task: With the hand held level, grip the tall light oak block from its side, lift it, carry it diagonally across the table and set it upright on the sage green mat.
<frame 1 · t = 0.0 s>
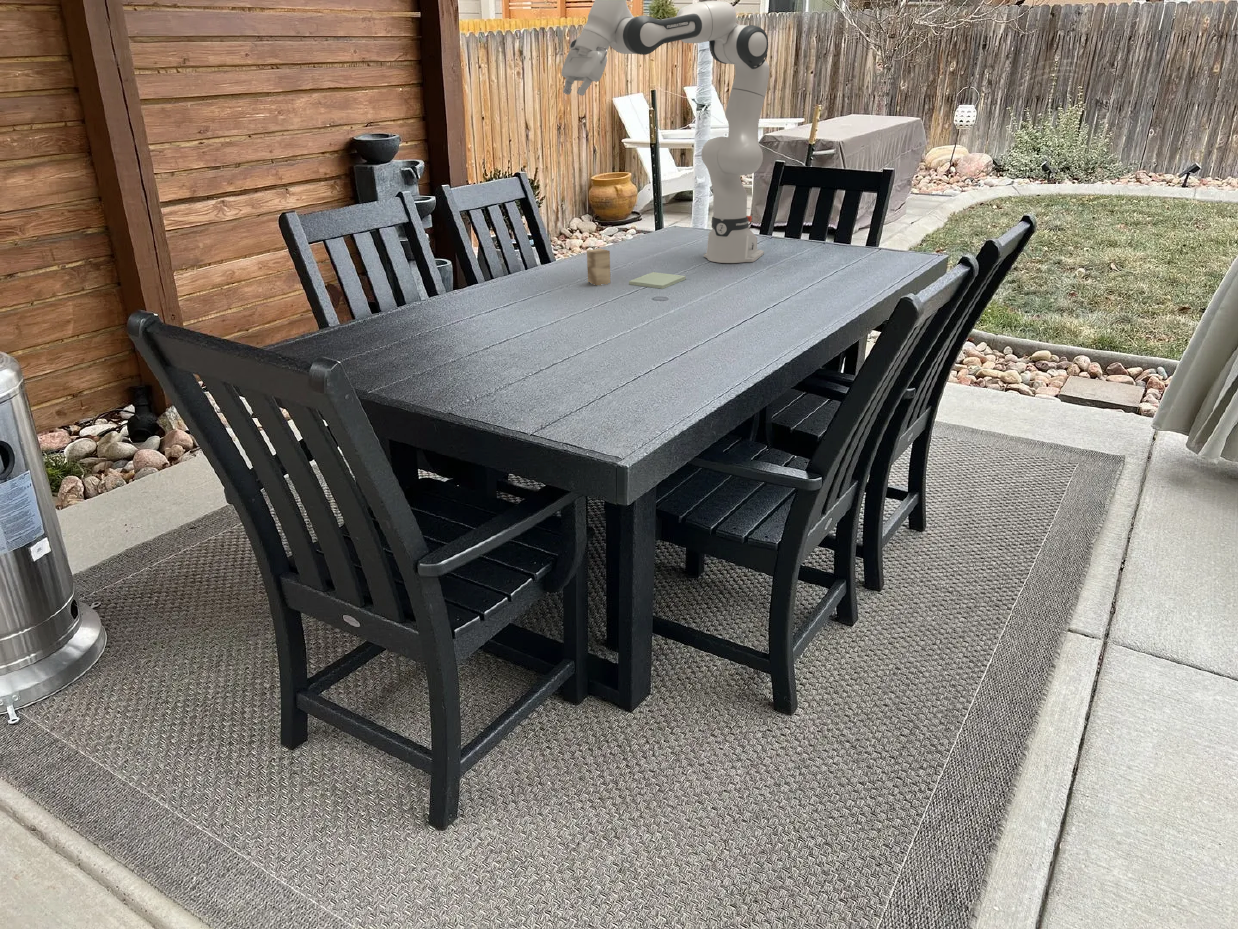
hand: (572, 93, 266), 54 cm above the table, tool tilted 30°, fingers open, 8 cm apart
oak block: (599, 283, 284), on the table
sage mat: (657, 281, 284), on the table
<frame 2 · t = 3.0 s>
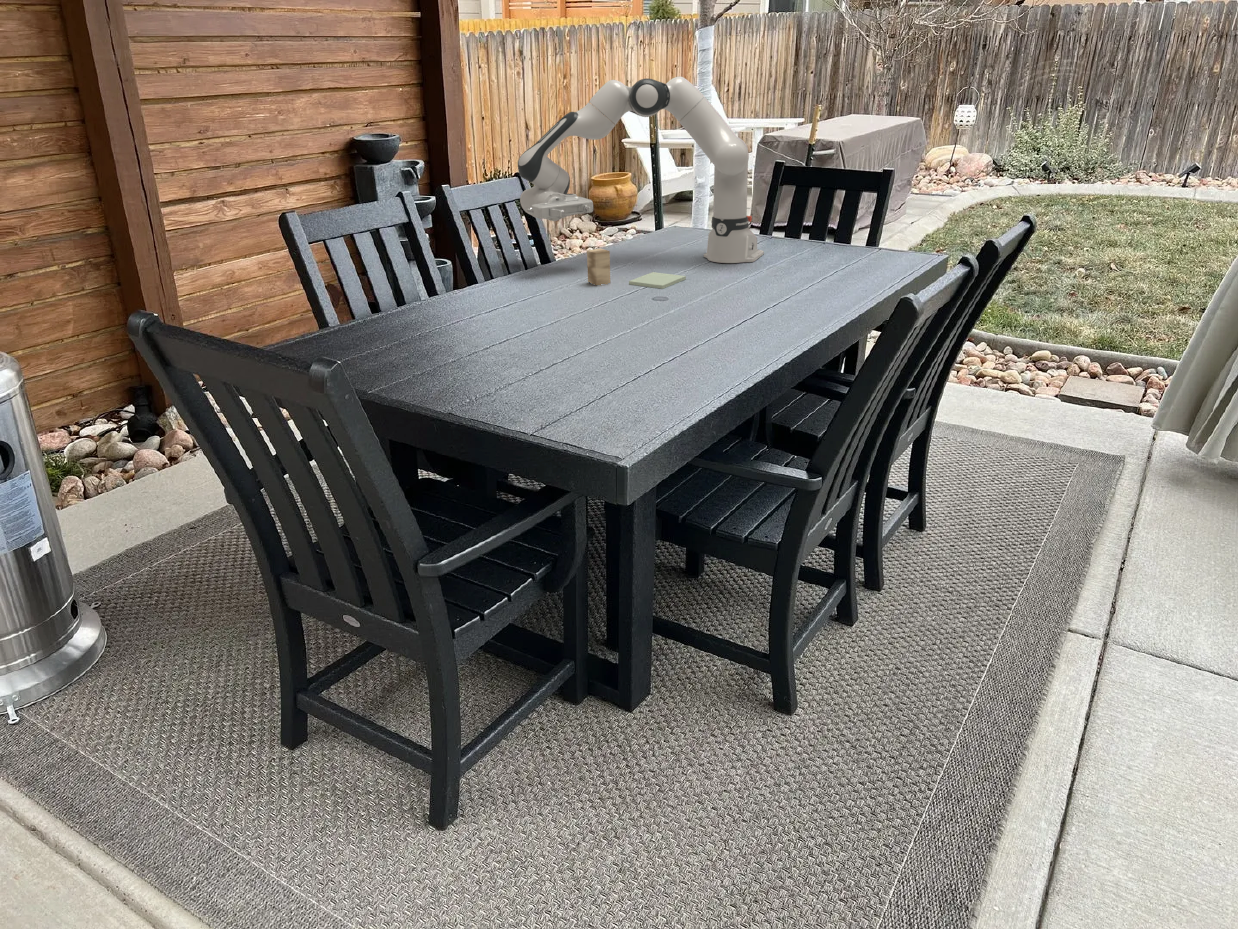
hand: (575, 211, 285), 20 cm above the table, tool horizontal, fingers open, 8 cm apart
nothing on the table moved.
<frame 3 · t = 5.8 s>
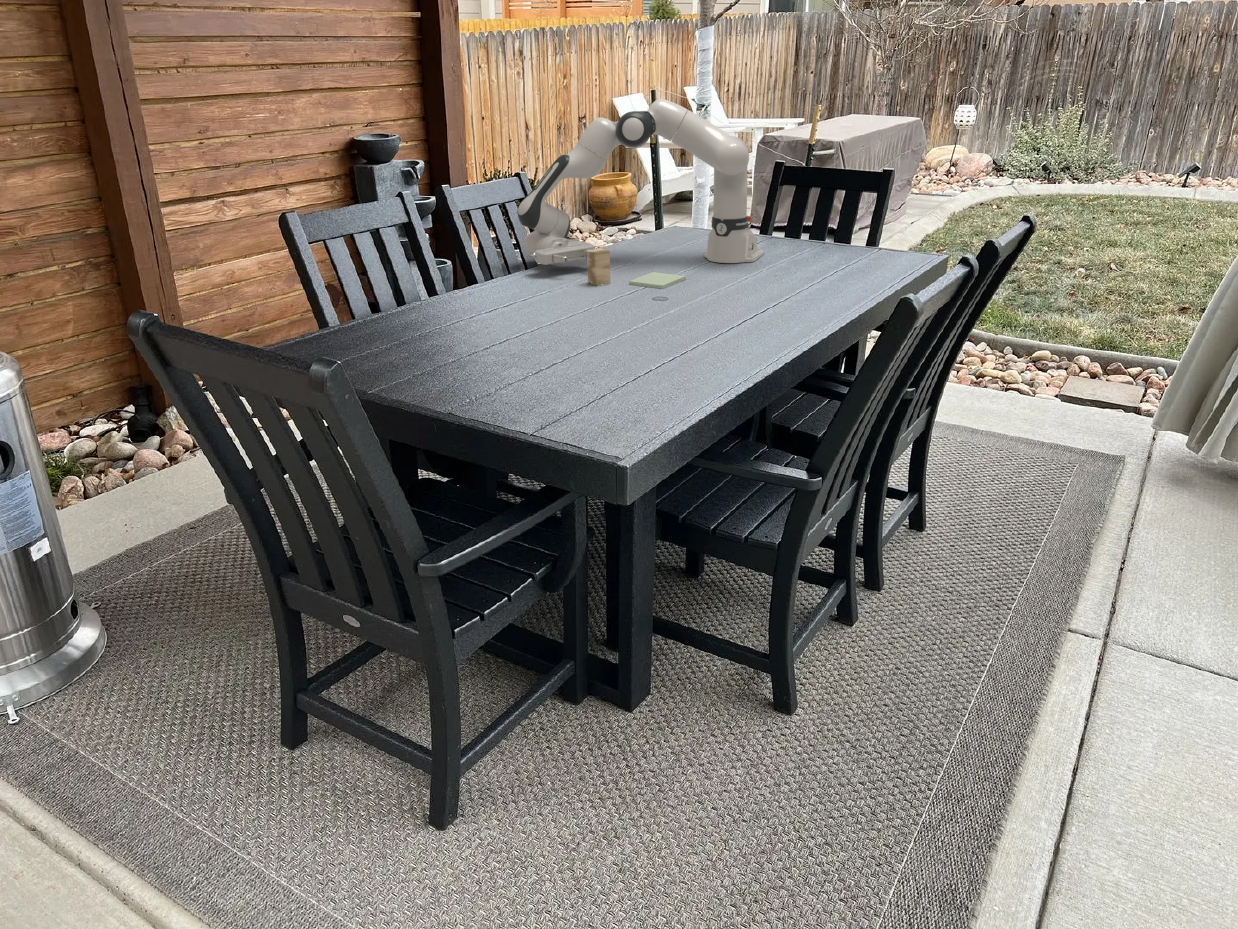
hand: (578, 257, 290), 6 cm above the table, tool horizontal, fingers open, 8 cm apart
nothing on the table moved.
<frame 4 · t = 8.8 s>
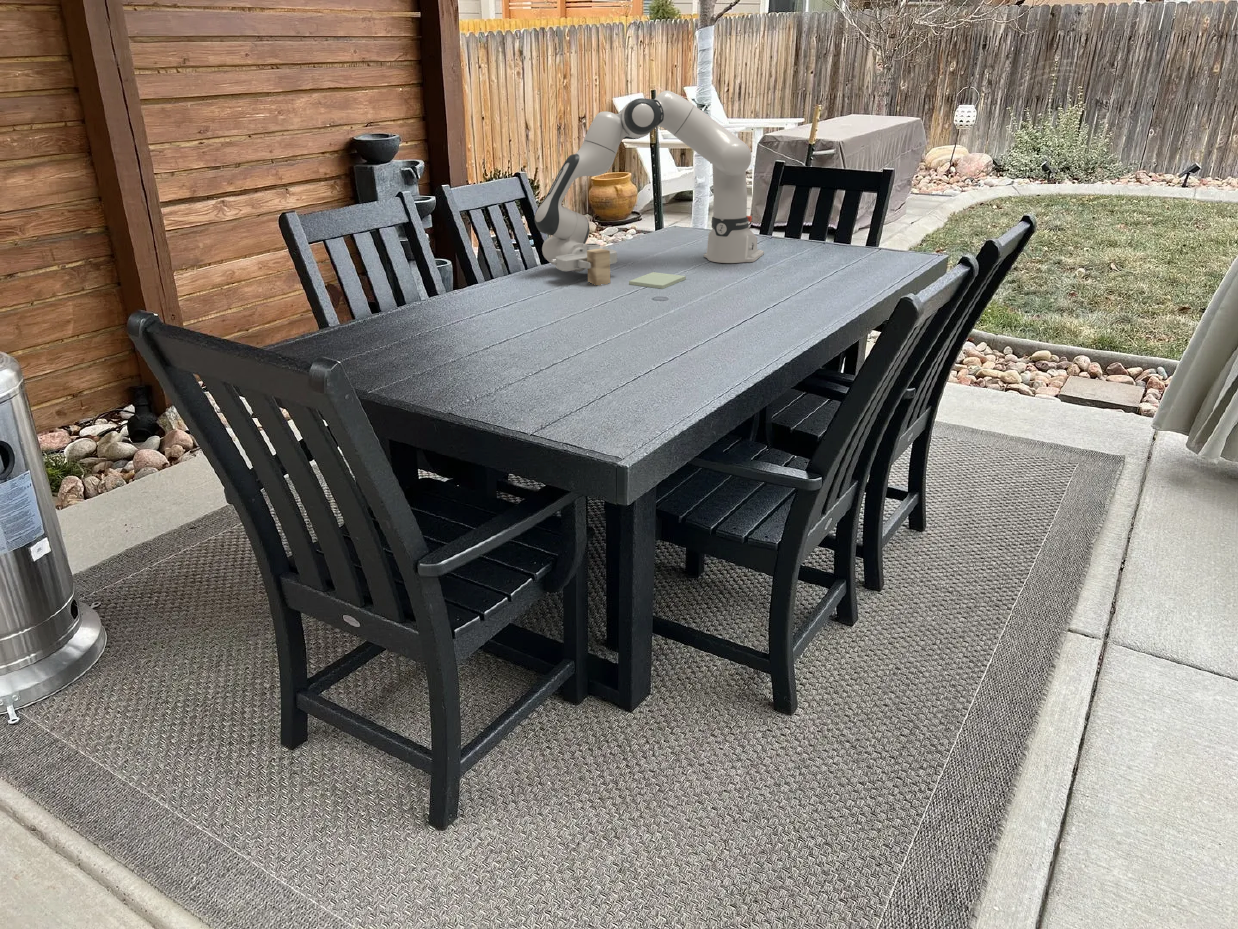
hand: (600, 264, 281), 6 cm above the table, tool horizontal, fingers closed on oak block, 5 cm apart
oak block: (599, 283, 284), on the table, touching gripper
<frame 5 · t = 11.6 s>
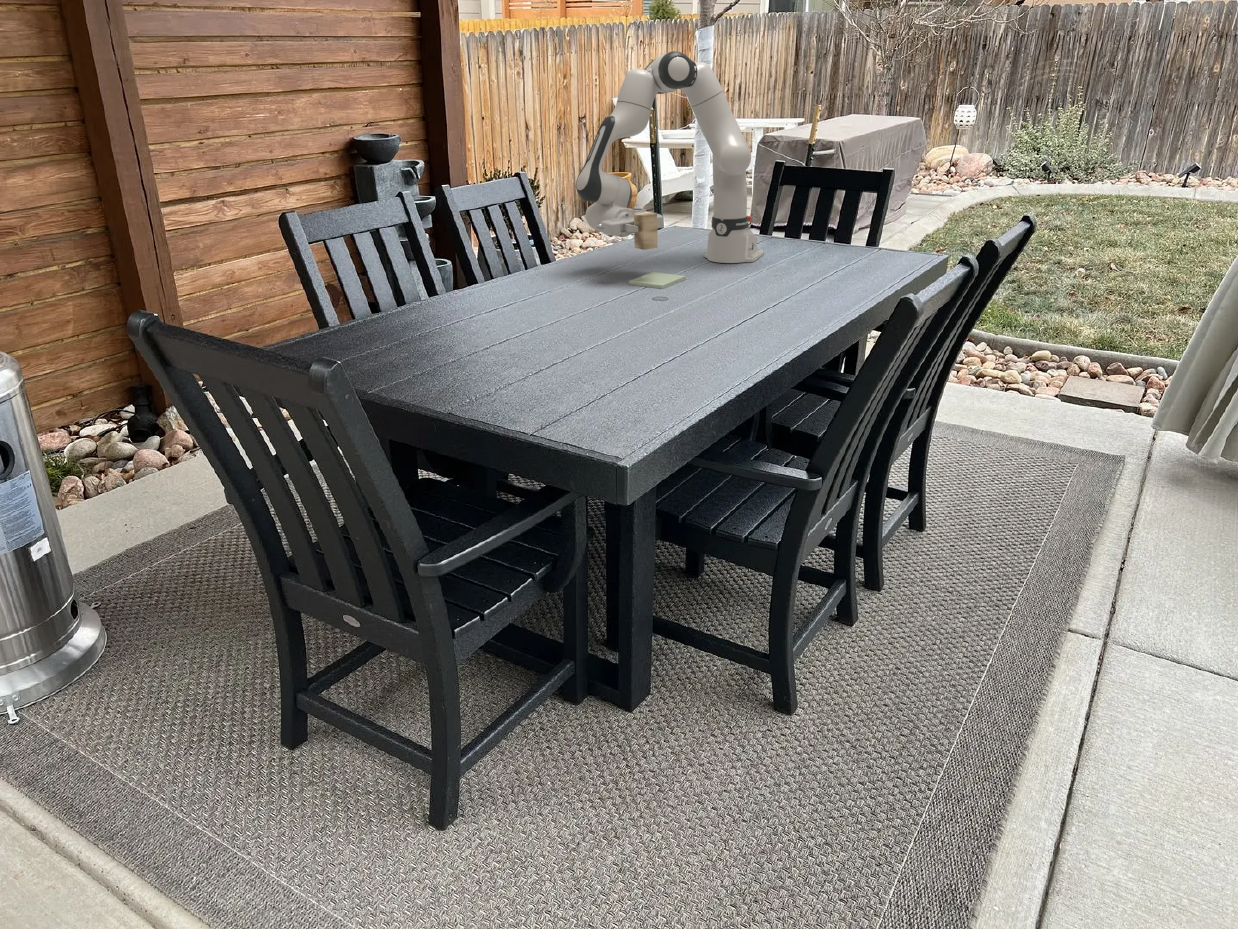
hand: (647, 227, 276), 17 cm above the table, tool horizontal, fingers closed on oak block, 5 cm apart
oak block: (646, 247, 280), point 11 cm above the table, touching gripper
when the fingers open (8 cm above the table, at t = 14.6 s): oak block stays where it is, resting on sage mat.
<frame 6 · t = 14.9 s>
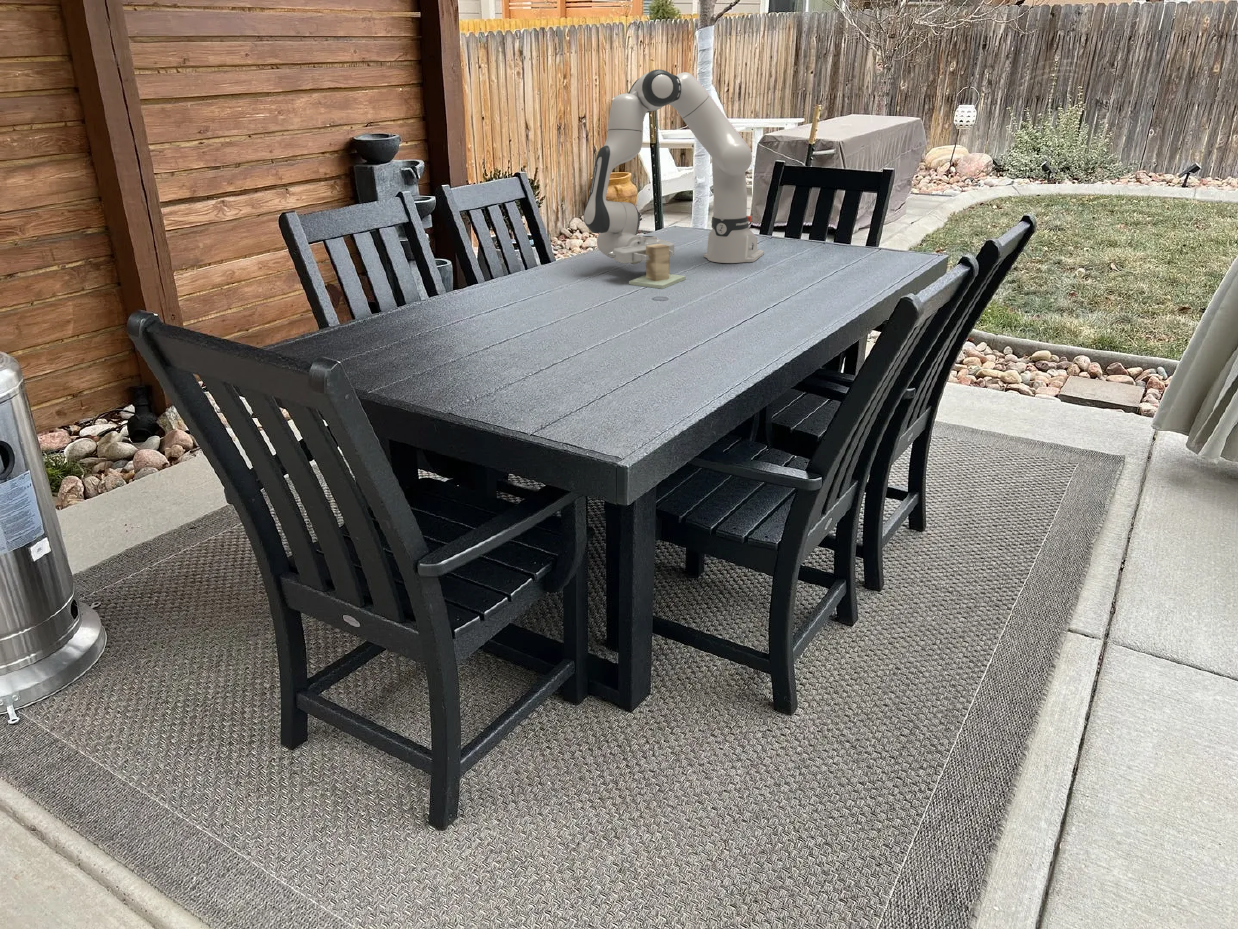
hand: (659, 256, 280), 8 cm above the table, tool horizontal, fingers open, 8 cm apart
oak block: (657, 278, 284), point 1 cm above the table, touching sage mat
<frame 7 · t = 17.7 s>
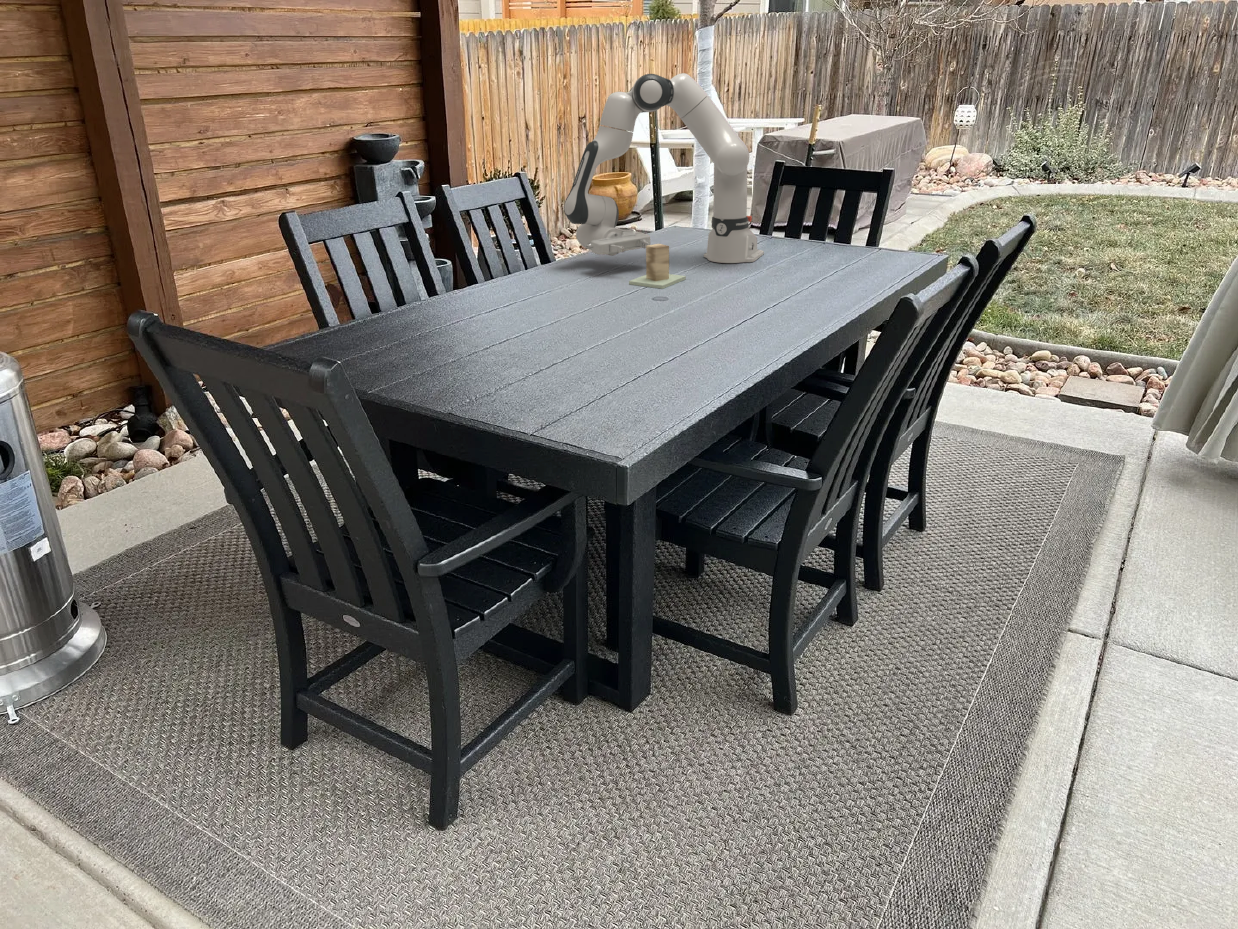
hand: (635, 247, 289), 9 cm above the table, tool horizontal, fingers open, 8 cm apart
nothing on the table moved.
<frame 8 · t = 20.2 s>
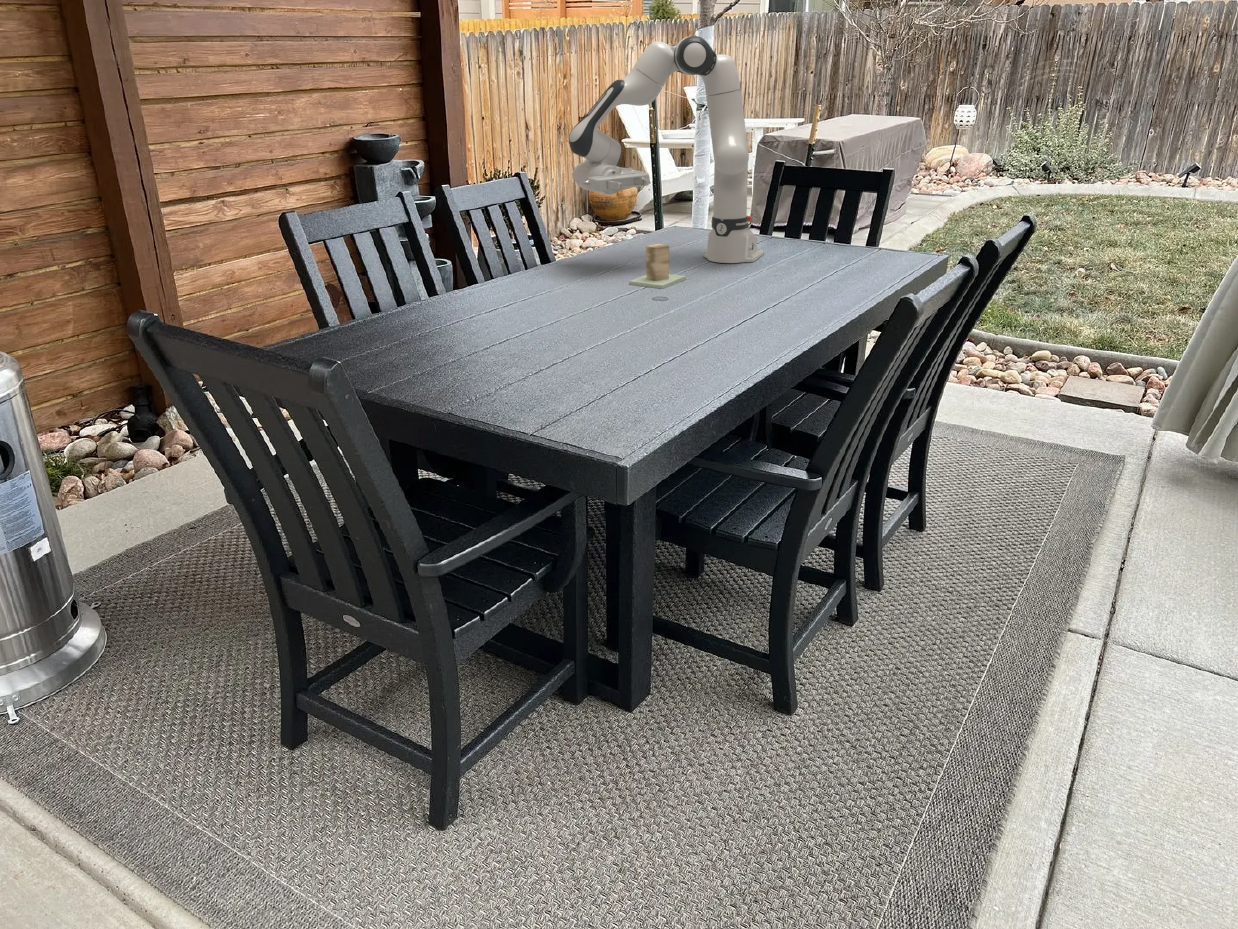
hand: (633, 183, 281), 28 cm above the table, tool horizontal, fingers open, 8 cm apart
nothing on the table moved.
at the end: oak block inside the target area on the sage mat (0.0 cm from its centre), point 1.0 cm above the sage mat's base; oak block tilted 0°; the gripper is holding nothing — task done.
